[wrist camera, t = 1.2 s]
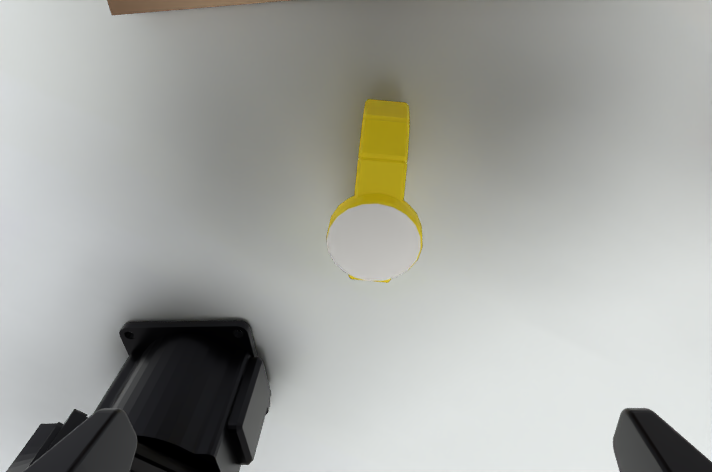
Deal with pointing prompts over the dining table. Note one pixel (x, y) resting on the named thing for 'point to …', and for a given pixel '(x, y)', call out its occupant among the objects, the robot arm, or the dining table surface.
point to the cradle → (171, 5)
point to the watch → (378, 201)
